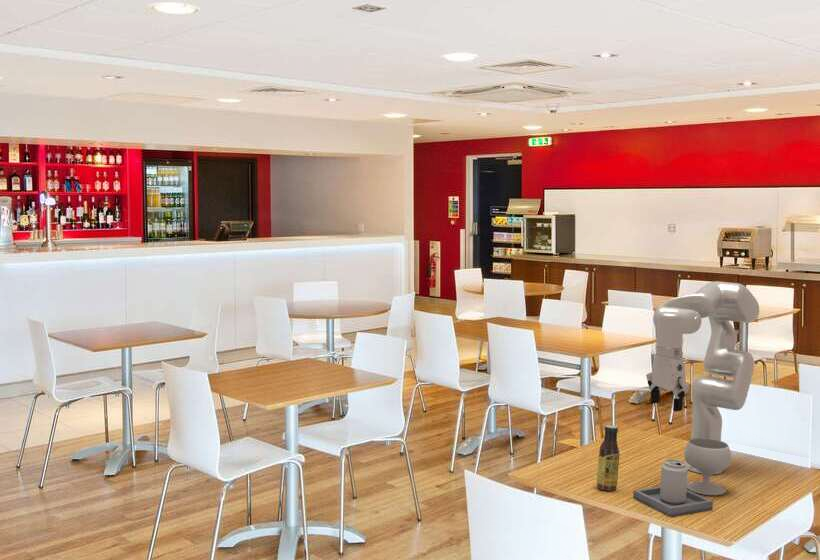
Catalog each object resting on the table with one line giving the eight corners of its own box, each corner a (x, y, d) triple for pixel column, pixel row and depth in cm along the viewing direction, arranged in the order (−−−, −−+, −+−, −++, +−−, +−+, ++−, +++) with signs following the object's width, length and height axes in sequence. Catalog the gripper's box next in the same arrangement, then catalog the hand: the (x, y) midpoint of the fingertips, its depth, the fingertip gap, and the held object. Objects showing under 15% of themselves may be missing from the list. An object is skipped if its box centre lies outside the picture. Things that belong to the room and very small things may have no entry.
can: (688, 506, 253) (690, 466, 252) (661, 504, 254) (664, 464, 253) (683, 497, 260) (685, 458, 259) (657, 495, 261) (659, 457, 260)
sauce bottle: (605, 493, 264) (608, 430, 262) (592, 486, 270) (595, 424, 268) (621, 490, 267) (625, 427, 265) (608, 484, 273) (611, 422, 271)
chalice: (704, 480, 280) (707, 434, 278) (738, 493, 267) (742, 446, 266) (672, 485, 273) (675, 439, 272) (705, 500, 261) (709, 451, 260)
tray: (673, 491, 268) (674, 484, 267) (712, 509, 253) (712, 501, 253) (633, 498, 261) (633, 490, 260) (670, 517, 246) (670, 508, 246)
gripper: (699, 356, 256) (696, 412, 259) (657, 345, 272) (655, 398, 274) (680, 358, 253) (677, 415, 255) (639, 347, 268) (637, 401, 270)
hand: (666, 406), depth 264 cm, fingers open, 9 cm apart
